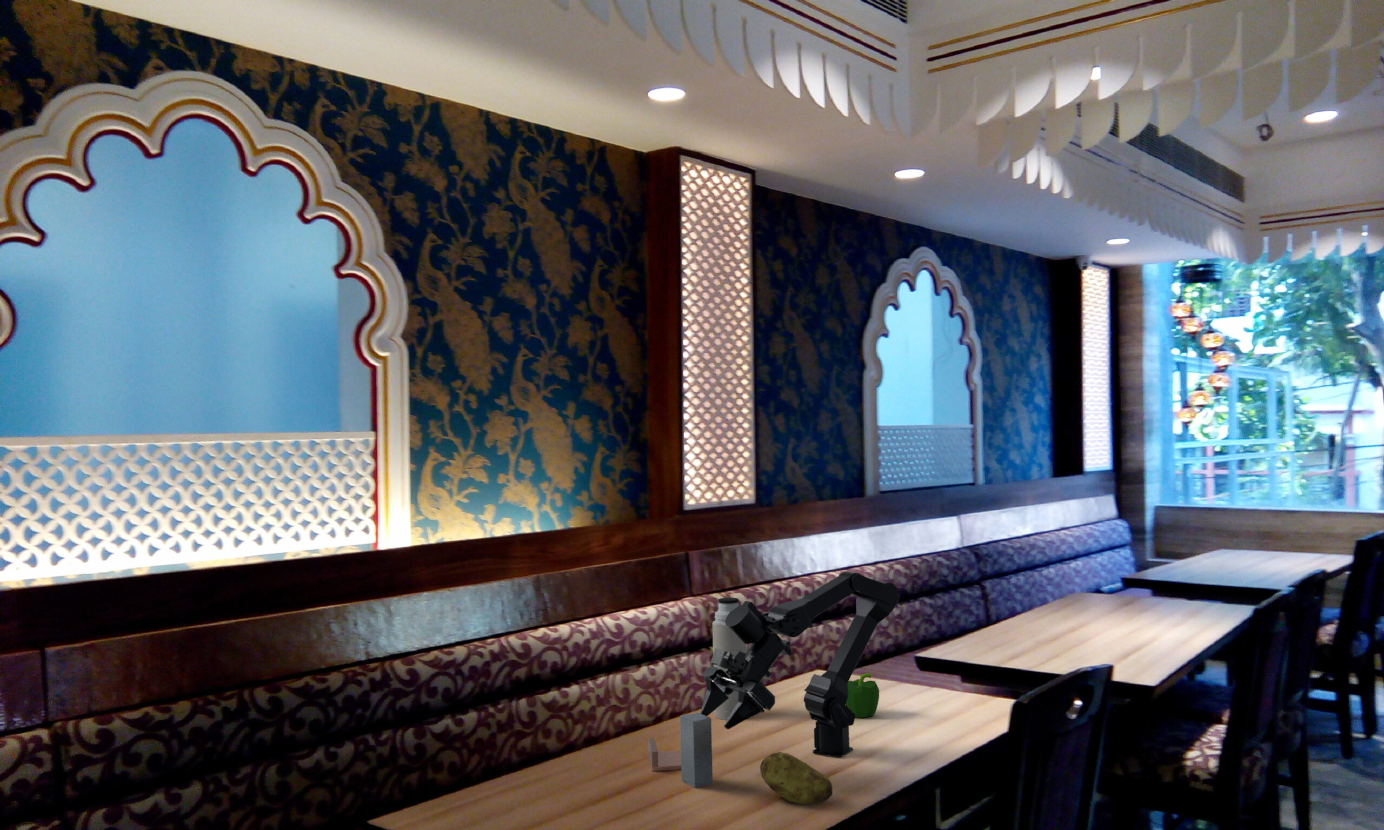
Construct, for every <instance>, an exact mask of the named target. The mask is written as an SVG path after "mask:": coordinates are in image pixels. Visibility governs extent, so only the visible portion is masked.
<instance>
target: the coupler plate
mask: <svg viewBox="0 0 1384 830" xmlns="http://www.w3.org/2000/svg"><path fill="white" fill-rule="evenodd" d="M647 739H648V740H647V741H648V743H647V744H648V759H649V764H650V766H651V767H650V768H651V771H652V772H659V771H660V772H661V771H664V772H665V771H676V770H681V749H680V750H666V751H664V750H663V751H658V746H657V743H656V740H655V737H648V738H647Z"/></svg>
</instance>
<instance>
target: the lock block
mask: <svg viewBox="0 0 1384 830" xmlns="http://www.w3.org/2000/svg"><path fill="white" fill-rule="evenodd" d="M679 724H680V725H679V726H680V750H681V769H680V770H681V781H682V782H683V783H685V784H687V785H688V786H690V785H691V786H690V787H693V788H695V789H696V788H700V787H705V786H709V785H713V784H714V783H713V782H714V780H713V779H714V778H713V776H714V775H713V774H714V773H713V744H712V741H713V740H712V737H713V736H712V718H711V717H709V716H705V715H702V714H700V712H693V713H689V714H688V713H687V714H682V715H680V716H679Z"/></svg>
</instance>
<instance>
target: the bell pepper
mask: <svg viewBox="0 0 1384 830" xmlns="http://www.w3.org/2000/svg"><path fill="white" fill-rule="evenodd" d="M872 676H873V675H872V673H869V672H867V673H863V674H862V675H861V676H860V677H859V678H857V679H855V680H849V681H848V699H847V702H846V706H847V707H848V708H849V709H850V710H851V711H852V712H853V713H854V714H855V718H858V719H860V718H861V719H862V718H867V717H873V716H875V714H876V712H877V709H878V705H879V699H880V688H879V686H878V684H877V682H876V680H866V681H864V680H865V679H866V678H870V679H871V678H872Z"/></svg>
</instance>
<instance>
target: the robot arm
mask: <svg viewBox="0 0 1384 830" xmlns="http://www.w3.org/2000/svg"><path fill="white" fill-rule="evenodd" d="M851 595H853V596H856V601H855V604H856V613H855V615H854V617H853V619H852V621H851V623H850V625H849V627H848V629H847V631H846V632H845V633H846V634H845V635H844V637H843V639H842V641H841V643H840V645H839V647H838V648H837V650H836V653H835V654H834V656H833V658H832V660H831V662H830V663H829V666H828V668H827V670H826V671H825V672H823V674H821V675H818V674H815V673H814V674H813V675H812V676H811V679H810V680H809V683H808V685H807V686H806V688H804V692H805V694H804V696H803V702H804V706H805V709H806V710H807V712H808V713H809V716H810V720H812V721H815V727H814V729H813V748H814V749H813V750H812V754H814V755H815V754H816V755H822V756H827V757H833V758H842V757H844V756H845V755H847V754H849V753H850V752H852V751H854V748H853V747H851V746H850V726H851V727H852V726H854V723H855V720H856V719H855V718H856V717H855V714H854V713H853V712H852V711H851V710H850V709H849V708H848V707H847V706H846V702H847V699H848V681H850V680H851V677H852V675H853V673H854V672H855V669H856V667H857V665H858V664H859V662H860V659H861V657H862V656H863V653H864V652H865V649H866V648H867V646H868V643H869V641H870V640H871V637H872V635H873V634H874V631H875V630H876V627H878V624H879V623H881V622H882V621H883V620H885V619H886V618H888V617H889V616H890V615H891V613H892V612H893V611H894V609H895V608H896V606H897V604H898V603H899V600H900V594H899V590H898V587H897V585H895V584H894V583H893V582H888V581H883V580H875V579H872V578H869V577H866V576H864V575H862V574H861V573H860V572H853V571H848V570H846V571H845V570H844V571H843V572H841V573H840V574H838V575H837V576H836V577H835V578H832V579H831V580H830V581H828V582H826V583H824V584H823V585H821V586H819V587H818V588H816V589H815V590H813V591H811V592H810V593H808V594H806V595H805V596H803V597H802V598H798V599H796V600H790V601H786V602H782V603H779V604H777V605H774V606H773V607H772V608H770V609H769V610H768V612H764V613H761V612H760V611H759V609H757V607H756V605H755V604H754V602H753V601H748V600H745V601H744V602H743V603H742V604H741V605H740V604H739V606H738V607H736V608H735V609H734V610H733V611H730V613H729V614H728V615H727V617H726V620H725V624H726V626H727V627H728V628H729V629H730V630H731V631H732V632H733V633H734V634H735V635H736V636H737V637H738V638H739V639H740V640H741V641H742V642H743V643H744V644H746V645H750V644H751V645H750V646H749V648H748V649H746V653H743V652H741V651H738V650H734V652H733V653H732V654H731V653H729V652H726V651H723V650H720V649H716V648H715V651H714V654H712V657H711V659H710V664H711V665H713V666H708V667H706V669H705V671H703V673H702V676H703V677H704V678H703V679H704V683H705V684H706V692H705V697H704V700H703V703H702V706H701V708H700V711H699V713H700V714H702V715H705V716H707V717H709V716H710V714H712V713H713V712H715V709H717V708H718V707H719V706H720V705H721V704H723V703H724V702H725V701H726V700H727V699H728V698H729V697H728V696H727V695H729V694H731V693H732V692H733V691H734V690H735V691H737V692H739V694H738V702H737V704H736V705H735V707H734V709H733V710H732V712H731V714H730V715H729V717H728V719H727V720H725V723H724V725H723V726H724V728H725V729H726V730H730V729H731V728H734V727H736V726H737V725H739V724H741V723H743V722H744V721H747V720H748V719H750V718H753V717H755V716H756V715H758V714H761V713H765V711H767V712H768V711H771V710H772V709H773V707H774V706H775V704H776V696H775V695H774V693H773V692H771V690H769V689H768V687H766V685H764V683H763V682H762V680H763V678H767V679H769V678H770V676H771V675H772V673H771V672H770V668H772V666H773V665H774V664H775V662H776V661H777V659H778V657H779V656H780V655H781V654H783V655H786V656H789V657H790V656H791V655H792V649H791V641H787V640H783V639H782V638H781V637H780V635H781V636H786V637H790V638H797V637H799V636H800V635H802V634H803V633H804V632H805V631H806V630H807V629H809V628H810V626H811V625H812V623H813V620H814V619H815V618H816V617H817V616H819V615H820V614H822V613H823V612H825V611H828V609H830V608H832V607H833V606H835V605H836V604H838V603H840V602H841V601H843V600H844V599H846V598H848V597H849V596H851ZM714 665H718V666H720V667H722V668H725V670H724V671H725V672H726V673H727V674H728V675H729V676H730V677H729V676H728V675H727V674H726V673H725V672H724V671H723V670H722V669H719V668H716V667H714ZM735 685H736V686H735Z"/></svg>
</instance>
